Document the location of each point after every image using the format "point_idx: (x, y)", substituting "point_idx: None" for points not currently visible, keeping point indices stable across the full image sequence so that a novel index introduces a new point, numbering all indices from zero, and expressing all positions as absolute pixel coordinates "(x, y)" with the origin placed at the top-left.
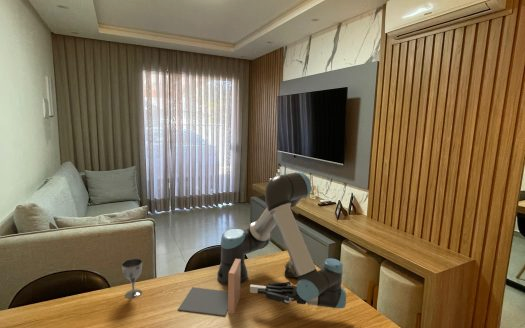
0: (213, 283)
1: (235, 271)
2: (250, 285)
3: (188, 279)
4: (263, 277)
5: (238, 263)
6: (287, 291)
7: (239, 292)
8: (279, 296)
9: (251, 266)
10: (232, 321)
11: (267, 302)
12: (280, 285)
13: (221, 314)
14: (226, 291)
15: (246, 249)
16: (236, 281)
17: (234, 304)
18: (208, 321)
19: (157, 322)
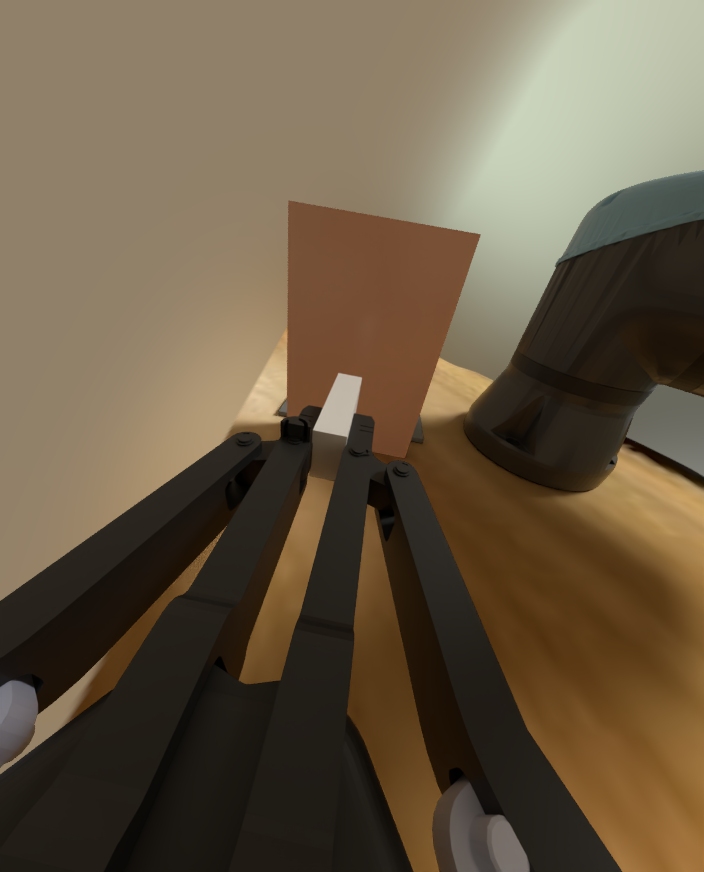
0: (454, 403)
1: (317, 208)
2: (350, 375)
3: (446, 371)
4: (643, 576)
5: (417, 223)
6: (76, 755)
7: (397, 431)
8: (84, 545)
9: (681, 515)
10: (242, 429)
11: (378, 582)
12: (419, 613)
13: (284, 405)
14: (418, 421)
15: (682, 316)
16: (341, 313)
17: (297, 405)
18: (263, 387)
19: (283, 340)
